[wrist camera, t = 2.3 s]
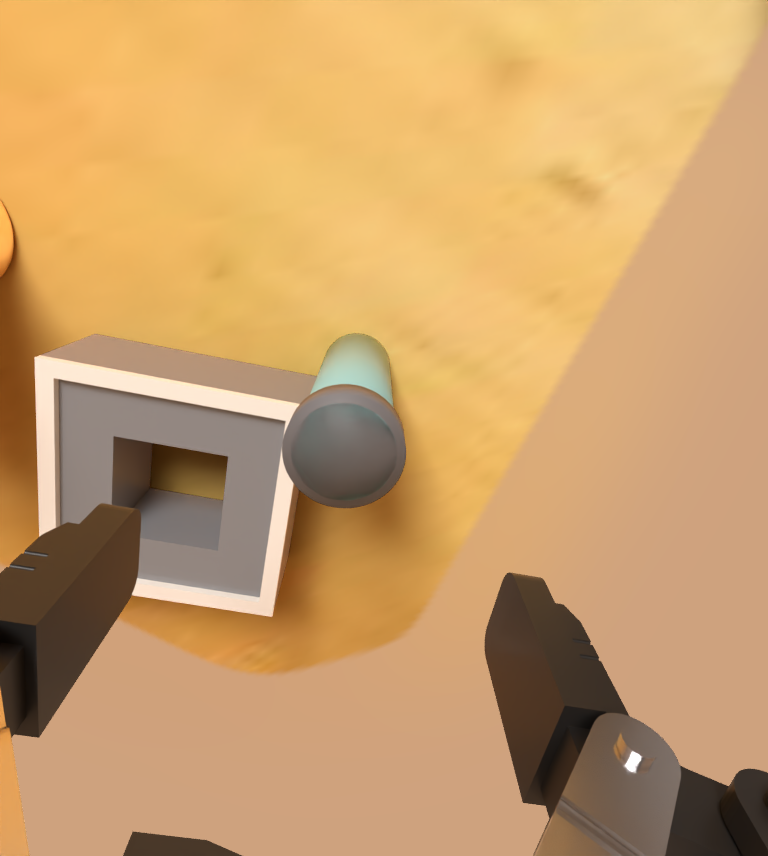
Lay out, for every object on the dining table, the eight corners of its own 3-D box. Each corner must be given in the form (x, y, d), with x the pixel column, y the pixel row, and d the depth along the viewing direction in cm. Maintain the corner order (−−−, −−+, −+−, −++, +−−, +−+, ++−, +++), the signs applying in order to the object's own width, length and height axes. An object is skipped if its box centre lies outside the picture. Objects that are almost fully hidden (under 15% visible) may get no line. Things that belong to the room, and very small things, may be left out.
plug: (402, 336, 29) (418, 407, 18) (386, 408, 30) (392, 517, 19) (325, 320, 29) (291, 383, 17) (313, 395, 30) (274, 497, 19)
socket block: (317, 376, 30) (305, 407, 25) (288, 558, 34) (272, 616, 29) (95, 333, 29) (34, 357, 24) (92, 526, 33) (40, 581, 28)
